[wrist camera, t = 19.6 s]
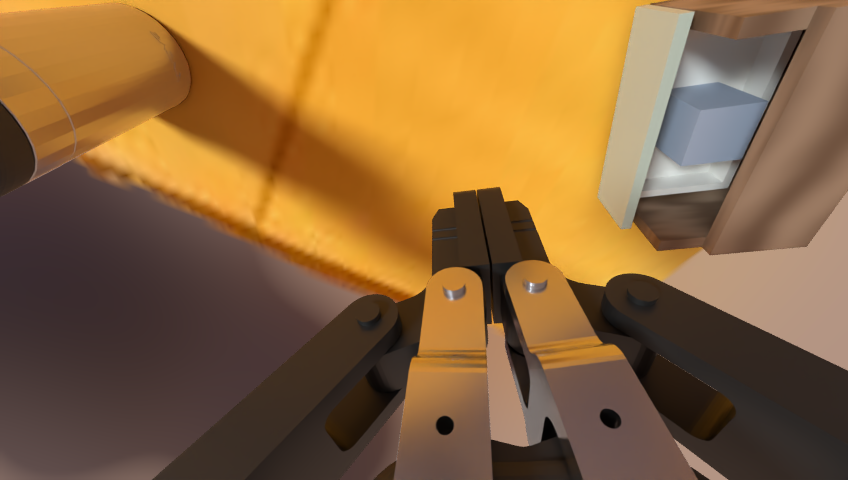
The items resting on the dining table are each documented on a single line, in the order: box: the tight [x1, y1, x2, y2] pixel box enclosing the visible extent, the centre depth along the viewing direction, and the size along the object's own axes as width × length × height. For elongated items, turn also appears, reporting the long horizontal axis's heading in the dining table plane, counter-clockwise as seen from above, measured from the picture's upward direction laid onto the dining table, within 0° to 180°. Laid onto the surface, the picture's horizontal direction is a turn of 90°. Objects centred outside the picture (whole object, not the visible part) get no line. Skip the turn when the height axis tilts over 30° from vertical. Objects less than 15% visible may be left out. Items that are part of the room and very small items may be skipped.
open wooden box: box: [633, 0, 848, 255], centre depth 30 cm, size 12×19×13 cm, turn 8°
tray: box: [598, 5, 803, 229], centre depth 31 cm, size 12×19×6 cm, turn 8°
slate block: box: [655, 82, 769, 166], centre depth 31 cm, size 5×5×6 cm
